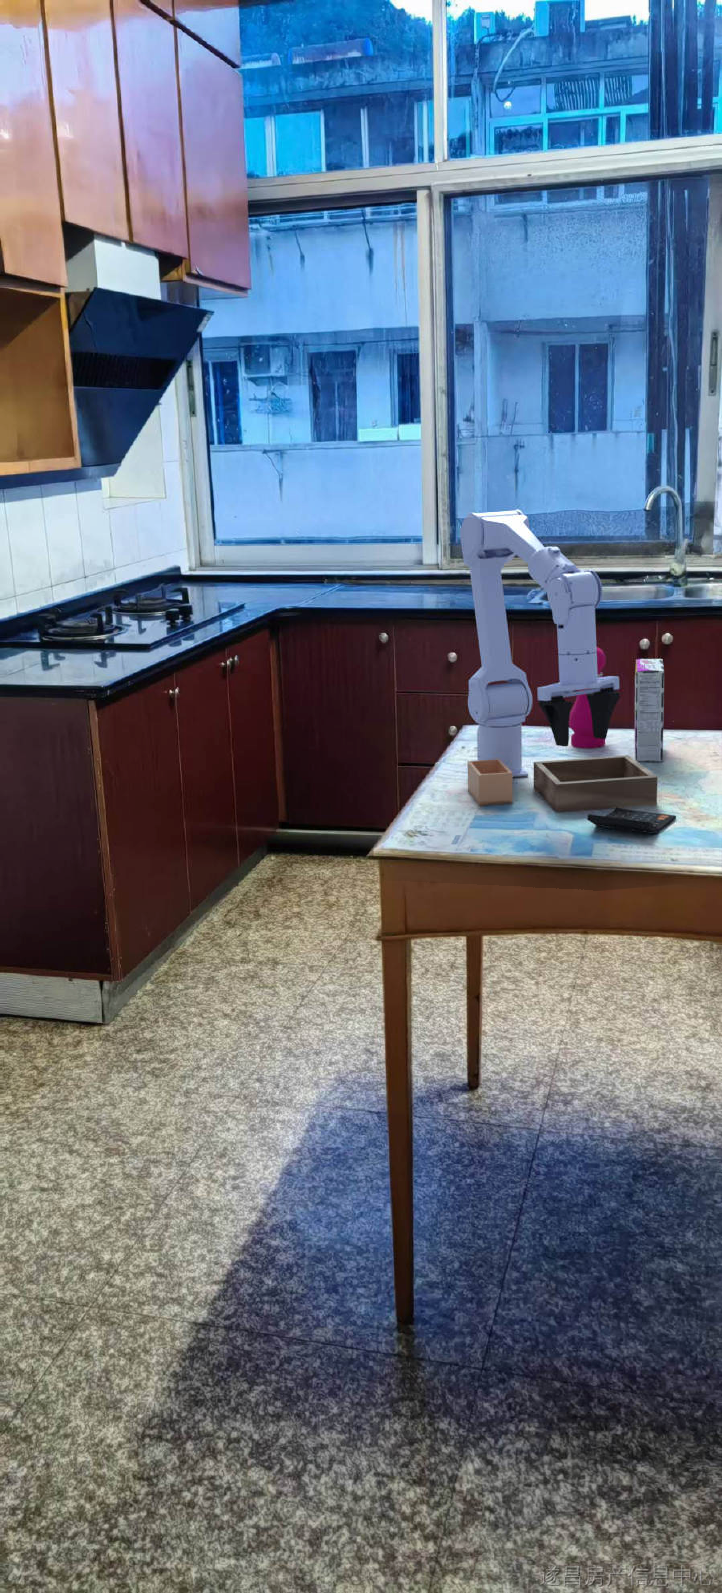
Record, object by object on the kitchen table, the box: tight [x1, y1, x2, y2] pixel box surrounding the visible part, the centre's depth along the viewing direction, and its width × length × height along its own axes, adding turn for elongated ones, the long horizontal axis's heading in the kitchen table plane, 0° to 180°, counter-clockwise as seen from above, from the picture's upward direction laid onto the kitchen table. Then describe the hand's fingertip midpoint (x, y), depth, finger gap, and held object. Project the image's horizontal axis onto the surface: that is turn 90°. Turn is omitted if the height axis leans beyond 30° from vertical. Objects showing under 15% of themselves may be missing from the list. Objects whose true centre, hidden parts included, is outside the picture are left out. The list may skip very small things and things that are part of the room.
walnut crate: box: [533, 754, 658, 813], centre depth 201 cm, size 14×16×4 cm
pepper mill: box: [569, 646, 607, 749], centre depth 231 cm, size 7×7×20 cm
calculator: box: [586, 808, 677, 835], centre depth 186 cm, size 9×12×3 cm
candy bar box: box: [634, 658, 665, 763], centre depth 223 cm, size 11×5×16 cm, turn 168°
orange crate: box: [467, 759, 514, 807], centre depth 203 cm, size 9×5×5 cm, turn 7°
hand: (581, 741), depth 193 cm, fingers open, 7 cm apart
